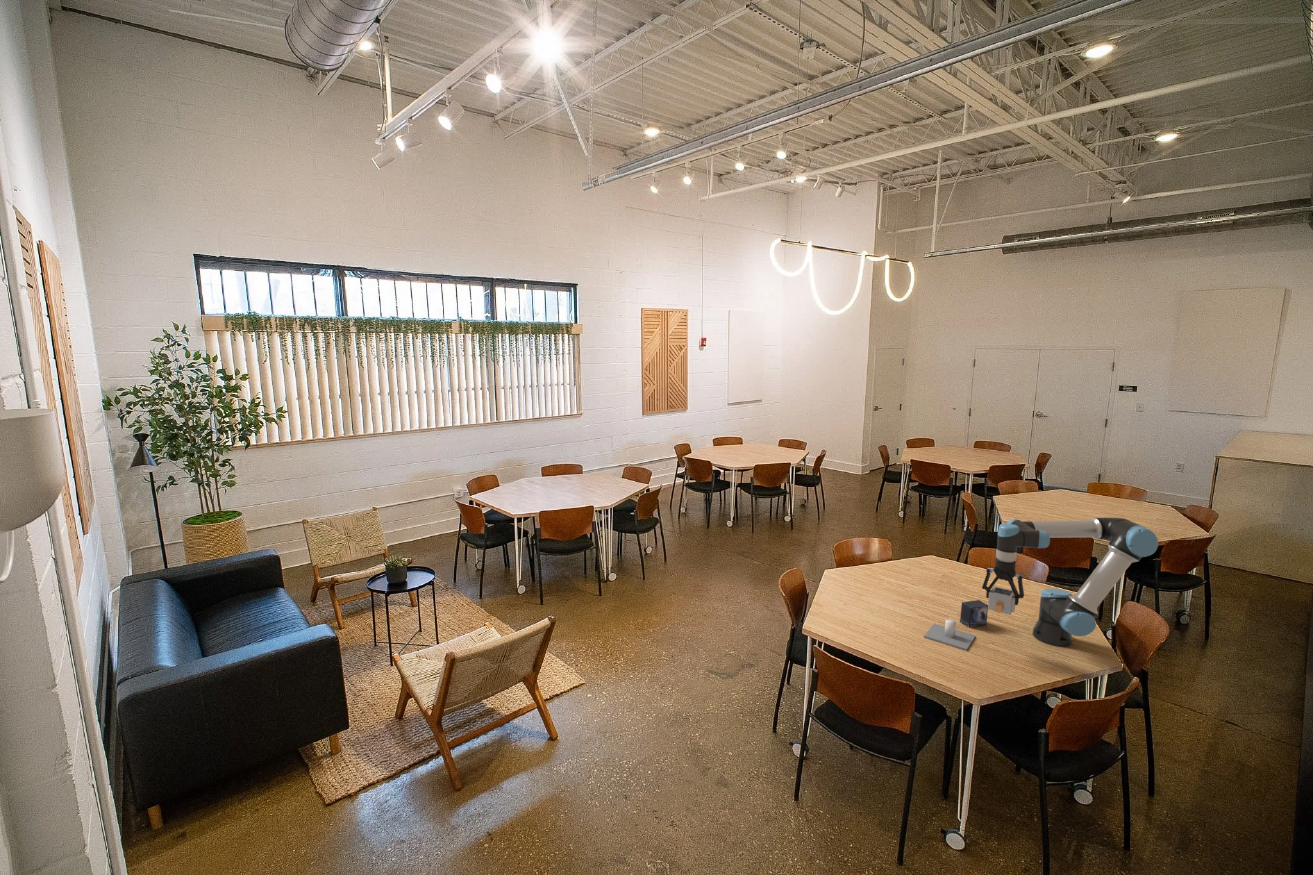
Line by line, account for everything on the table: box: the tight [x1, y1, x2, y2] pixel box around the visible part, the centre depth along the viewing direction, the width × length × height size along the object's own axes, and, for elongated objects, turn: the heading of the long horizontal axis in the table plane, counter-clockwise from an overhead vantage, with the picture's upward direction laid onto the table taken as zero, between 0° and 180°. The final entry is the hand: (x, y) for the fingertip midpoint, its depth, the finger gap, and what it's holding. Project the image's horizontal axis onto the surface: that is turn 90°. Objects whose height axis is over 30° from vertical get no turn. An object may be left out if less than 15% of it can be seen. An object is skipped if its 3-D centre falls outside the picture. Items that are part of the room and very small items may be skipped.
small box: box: [959, 599, 989, 628], centre depth 278 cm, size 11×6×10 cm, turn 105°
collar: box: [988, 585, 1014, 615], centre depth 251 cm, size 8×11×8 cm
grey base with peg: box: [923, 618, 976, 651], centre depth 266 cm, size 18×16×8 cm
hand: (1001, 608), depth 253 cm, fingers closed on collar, 8 cm apart
